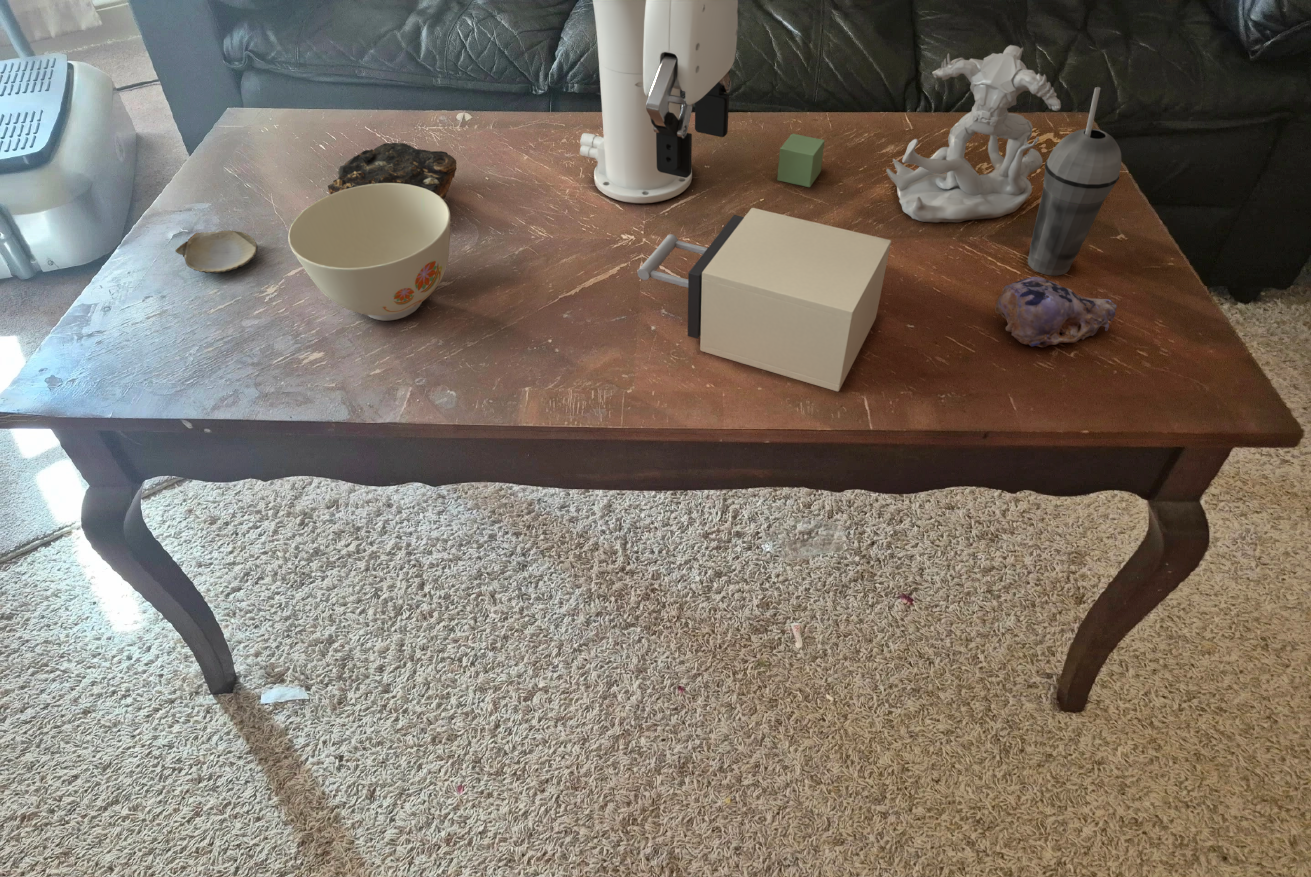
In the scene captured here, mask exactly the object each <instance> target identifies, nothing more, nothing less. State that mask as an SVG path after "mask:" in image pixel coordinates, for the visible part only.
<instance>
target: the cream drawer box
mask: <svg viewBox="0 0 1311 877" xmlns="http://www.w3.org/2000/svg"><path fill="white" fill-rule="evenodd" d="M743 217H744V219H743V220H742V221H741V223H740V224H739V225H738V226H737V228H736V229H735V230H734V232H733V233H732V234H731V236H730V237H729V238H728V239H727V241H726V242H725V243H724V245H723V246H722V247H721V249H720V250H719V251H718V252H717V254H716V255H715V256H714V258H713V259H712V260H711V262H710V263H709V264H708V265H707V267H706V268H705V269H704V271H703V272H702V300H701V336H700V345H699V346H700V349H699V350H700V352H703V353H707V354H710V355H713V356H716V357H720V358H723V359H727V360H728V361H729V360H730V361H733V362H736V363H740V364H743V365H746V366H750V367H753V368H757V369H759V370H760V369H761V370H763V371H766V372H770V373H774V374H776V375H780V376H784V377H787V378H789V379H790V378H791V379H793V380H797V381H801V382H804V383H808V384H811V385H814V386H816V387H817V386H818V387H821V388H823V389H828V390H831V391H834V392H836V393H837V392H840V390H841V388H842V386H843V384H844V382H845V380H846V378H847V376H848V374H849V372H850V370H851V368H852V366H853V364H854V362H855V360H856V358H857V356H858V355H859V353H860V350H861V348H862V347H863V344H864V343H865V341H866V338H867V336H868V335H869V333H870V331H871V328H872V327H873V325H874V323H875V321H876V319H877V314H878V311H879V310H878V309H879V304H880V299H881V294H882V290H883V284H884V280H885V275H886V269H887V264H888V259H889V255H890V251H891V250H890V249H891V245H892V240H891V239H887V238H883V237H880V236H879V237H878V236H874V235H870V234H866V233H861V232H858V231H853V230H849V229H845V228H840V227H836V226H832V225H828V224H823V223H819V222H815V221H811V220H807V219H802V218H797V217H793V216H789V215H785V214H781V213H776V212H773V211H768V210H764V209H759V208H756V207H751V208H750V209H749V211H748V212H747V213H746V214H745V216H743Z"/></svg>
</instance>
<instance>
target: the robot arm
mask: <svg viewBox="0 0 1311 877" xmlns="http://www.w3.org/2000/svg"><path fill="white" fill-rule="evenodd" d="M592 6H593V11H594V20H595V30H596V40H597V56H598V57H597V58H598V69H599V81H600V82H599V86H600V101H601V114H602V116H601V117H602V132H603V136H600V135H597V134H594V133H589V132H583V133H582V134H581V136H580V141H579V142H580V143H579V144H580V149H579V155H580V156H581V157H584V158H590V159H591V158H592V159H595V161H596V162H597V164H596V165H595V168H594V171H593V181H594V185H595V186H596V188H597V189H598V191H600V192H601V193H602V194H604V195H605V196H607V197H609V198H611V199H613V200H617V201H620V202H624V203H629V204H653V203H659V202H663V201H666V200H670V199H672V198H674V197H677V196H679V195H680V194H682V193H683V192H685V191H686V190H687V189H688V188H689V187H690V185H691V183H692V179H693V169H692V160H693V159H692V156H693V152H692V151H693V149H692V147H693V133H691V132H688V130H689V126H690V122H691V117H692V113H693V107H694V131H695V132H697V133H700V134H705V135H708V136H714V137H719V138H724V137H726V135H728V132H729V131H728V129H729V112H730V111H729V108H730V107H729V106H730V94H729V92H730V91H731V88H732V80H731V75H730V72H731V69H732V67H733V65H734V62H735V59H736V53H737V44H738V43H737V42H738V26H739V24H738V22H739V20H738V19H739V13H738V12H739V0H592ZM681 92H684V96H685V97H684V96H681Z"/></svg>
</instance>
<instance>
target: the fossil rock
mask: <svg viewBox="0 0 1311 877" xmlns="http://www.w3.org/2000/svg"><path fill="white" fill-rule="evenodd" d="M456 172H457V159H455V158H454V156H453V155H451V154H449V153H448V152H447V151H443V150H429V149H428V150H427V149H421V148H420V149H419V148H415V147H413V146H411V145H410V144H408V143H404V142H396V141H394V142H386V143H382V144H380V145H378V146H377V147H375V148H373V149H372V148H371V149H369V150H368V149H365V150H363V151H361V152H359V153H358V154H357V155H355V156H353V157H352V158H350V159H348V160H347V161H346V162H345V163H344V164H343V165H340V166H339V167H338V171H337V174H338V177H337V179H334V180H332V182H331V183H330V184H328V185H327V189H328V193H329V195H331V194H334V193H336V192H339V191H342V190H345V189H349V188H353V187H357V186H362V185H368V184H378V183H400V184H408V185H414V186H418V187H421V188H425V189H427V190H429V191H431V192H433V193H435V194H437V195H438V196H439V197H441V198H442V199H443V200H444V199H445V198H446V197H447V194H448V192H449V191H450V188H451V185H452V183H453V180H454V178H455V175H456ZM444 201H445V200H444Z"/></svg>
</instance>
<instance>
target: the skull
mask: <svg viewBox="0 0 1311 877" xmlns="http://www.w3.org/2000/svg"><path fill="white" fill-rule="evenodd" d="M997 298H998V299H997V300H996V302H995V303H996V304H995V308H994V311H995V312H994V313H996V314H998V315H1000V316H1001V317H1002V318H1003V319H1005V320H1006V322H1007V325H1006V326H1005V331H1006V332H1010V333H1011V336H1012V337H1013V338H1014V339H1016V340H1017V341H1018V342H1019V343H1020V344H1022V345H1029V346H1030V347H1031V348H1033V347H1039V348H1045V347H1048V346H1055V345H1058V344H1061V343H1077V342H1078V341H1079V340H1085V339H1086V338H1088V337H1093V336H1094V335H1095V334H1097V332H1098V330H1099V329H1100V327H1104V331H1105V332H1108V330H1109V327H1110V324H1109V321H1110V322H1113V320H1114V319H1115V317H1116V311H1117V308H1118V306H1117V304H1116V303H1114V302H1113V300H1112V299H1109V298H1095V297H1094V298H1091V297H1085V296H1082V295H1079V294H1076V293H1075V292H1074V291H1073V290H1072V289H1070V288H1068V287H1064V286H1062V285H1060V284H1058V283H1056V282H1054V281H1052V280H1048V279H1046V278H1044V277H1039V276H1031V277H1027V278H1023V279H1021V280H1018V281H1014V282H1012V283H1010V284H1007V285H1005V286H1004V287H1003V288H1002V292H1001V293H1000V295H999V296H998V297H997ZM1060 333H1061V334H1060Z"/></svg>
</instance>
